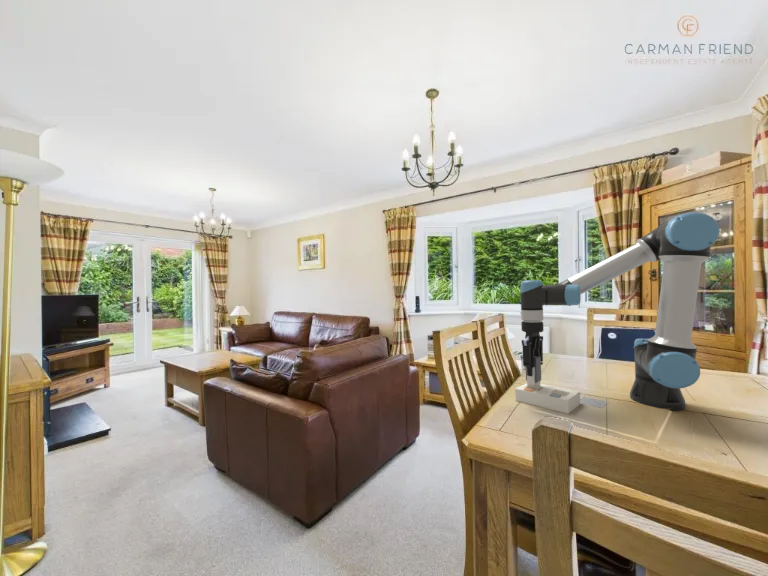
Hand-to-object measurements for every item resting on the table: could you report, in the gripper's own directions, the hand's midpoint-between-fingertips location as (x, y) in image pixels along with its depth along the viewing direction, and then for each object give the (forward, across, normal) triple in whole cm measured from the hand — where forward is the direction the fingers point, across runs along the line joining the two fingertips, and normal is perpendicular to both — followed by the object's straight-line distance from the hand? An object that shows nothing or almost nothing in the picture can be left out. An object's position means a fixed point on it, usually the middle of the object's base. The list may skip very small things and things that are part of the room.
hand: (533, 382), depth 120 cm
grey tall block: (+2, 0, 0) cm, 2 cm away
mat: (+7, -11, +16) cm, 20 cm away
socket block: (+7, 0, +5) cm, 8 cm away
